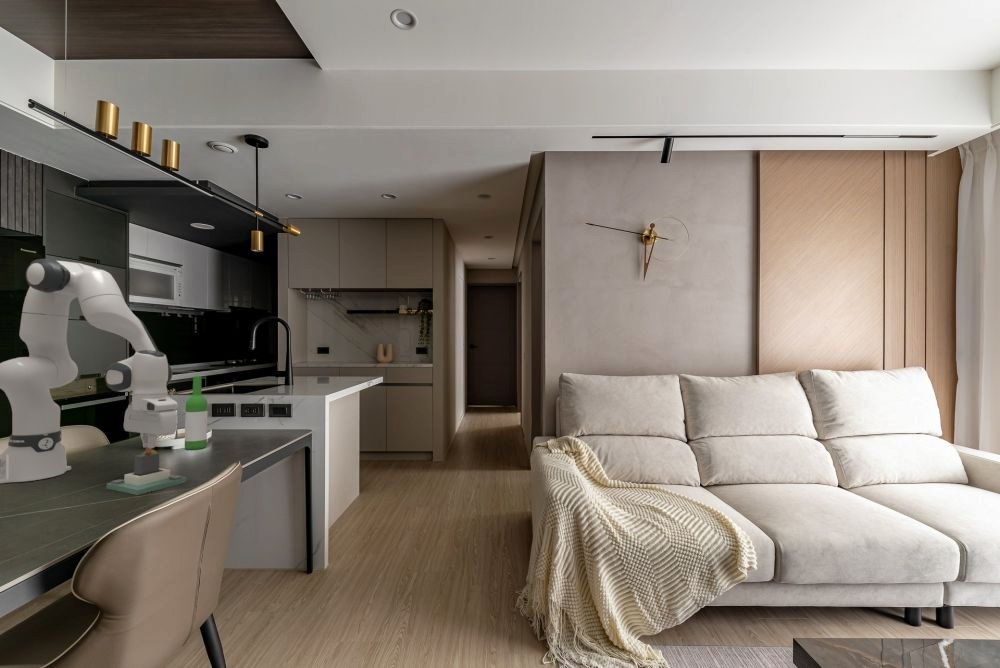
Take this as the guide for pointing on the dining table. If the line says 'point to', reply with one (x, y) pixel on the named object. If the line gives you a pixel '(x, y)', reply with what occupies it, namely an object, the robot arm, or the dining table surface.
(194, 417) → the wine bottle
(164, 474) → the header board
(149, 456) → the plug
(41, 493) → the dining table surface
